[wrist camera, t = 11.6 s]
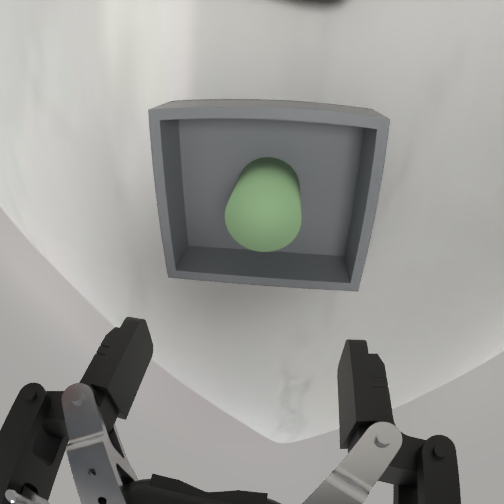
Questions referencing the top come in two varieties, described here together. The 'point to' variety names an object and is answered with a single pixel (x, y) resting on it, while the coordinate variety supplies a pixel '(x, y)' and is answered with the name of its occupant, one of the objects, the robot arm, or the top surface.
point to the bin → (254, 147)
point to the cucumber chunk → (265, 206)
